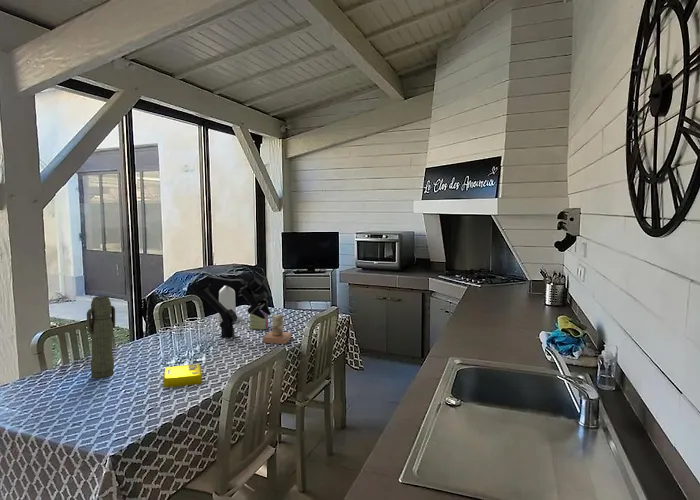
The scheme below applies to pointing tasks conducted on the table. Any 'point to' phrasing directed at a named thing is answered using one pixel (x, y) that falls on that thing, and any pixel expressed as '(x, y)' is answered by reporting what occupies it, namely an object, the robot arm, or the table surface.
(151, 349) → the table surface
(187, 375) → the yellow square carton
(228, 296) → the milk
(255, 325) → the box
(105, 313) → the thermos
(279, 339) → the base
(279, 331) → the post
